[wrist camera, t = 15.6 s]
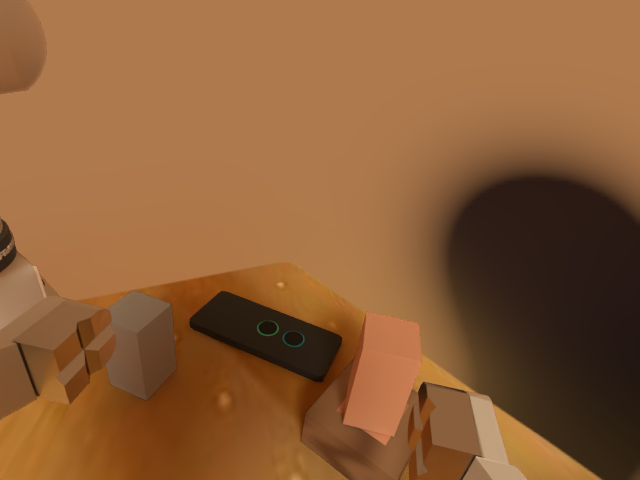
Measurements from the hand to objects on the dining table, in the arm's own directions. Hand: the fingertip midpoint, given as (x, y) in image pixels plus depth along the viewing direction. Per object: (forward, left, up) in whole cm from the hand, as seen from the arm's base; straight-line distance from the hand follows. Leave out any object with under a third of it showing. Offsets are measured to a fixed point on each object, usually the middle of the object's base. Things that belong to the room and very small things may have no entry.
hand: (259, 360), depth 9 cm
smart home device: (-26, +19, -31) cm, 44 cm away
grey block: (-27, +3, -30) cm, 41 cm away
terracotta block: (-7, +19, -25) cm, 32 cm away
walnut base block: (-7, +20, -30) cm, 37 cm away
